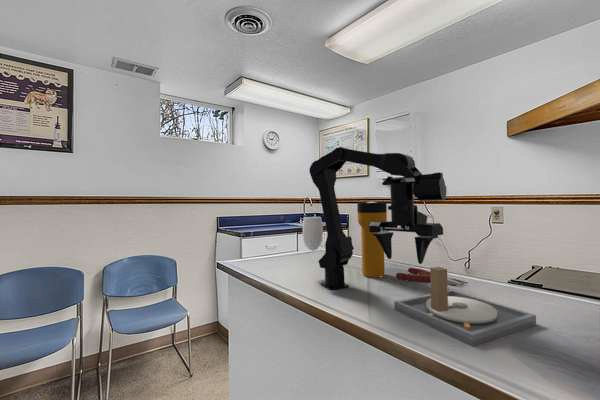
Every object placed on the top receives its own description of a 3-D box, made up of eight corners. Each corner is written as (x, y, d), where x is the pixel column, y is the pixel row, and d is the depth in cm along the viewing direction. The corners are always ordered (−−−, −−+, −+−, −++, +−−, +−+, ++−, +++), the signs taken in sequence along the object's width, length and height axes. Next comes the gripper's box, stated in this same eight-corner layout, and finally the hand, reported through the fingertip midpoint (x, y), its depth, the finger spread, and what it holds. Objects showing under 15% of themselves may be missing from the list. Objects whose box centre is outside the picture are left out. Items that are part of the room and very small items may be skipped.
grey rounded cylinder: (300, 274, 106) (298, 217, 106) (317, 272, 109) (316, 216, 109) (309, 279, 100) (307, 218, 100) (327, 276, 103) (326, 217, 103)
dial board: (394, 309, 72) (394, 301, 72) (451, 296, 80) (451, 289, 80) (473, 346, 53) (472, 335, 53) (536, 324, 62) (536, 315, 62)
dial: (461, 297, 75) (460, 258, 75) (513, 318, 62) (513, 271, 62) (413, 303, 72) (412, 262, 72) (458, 327, 58) (457, 277, 58)
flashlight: (355, 201, 109) (382, 201, 109) (356, 271, 109) (383, 271, 109) (360, 201, 99) (390, 201, 99) (361, 278, 99) (391, 278, 99)
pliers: (460, 292, 85) (460, 283, 85) (394, 280, 99) (394, 272, 99) (471, 284, 93) (471, 275, 93) (409, 273, 107) (409, 266, 107)
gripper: (453, 200, 75) (455, 261, 75) (391, 201, 90) (393, 253, 90) (429, 201, 68) (431, 268, 68) (366, 202, 83) (368, 258, 83)
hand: (404, 261), depth 78 cm, fingers open, 9 cm apart
